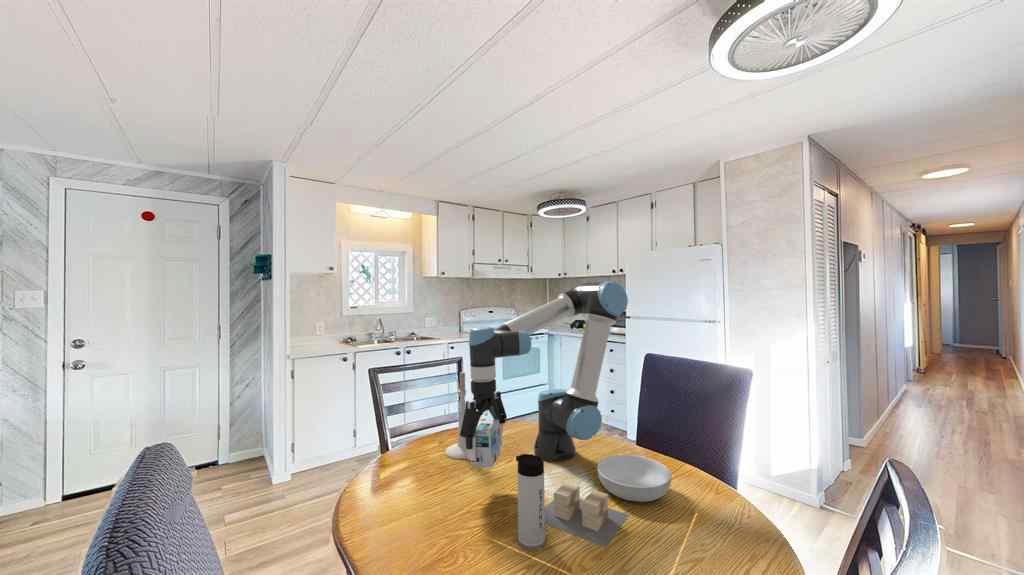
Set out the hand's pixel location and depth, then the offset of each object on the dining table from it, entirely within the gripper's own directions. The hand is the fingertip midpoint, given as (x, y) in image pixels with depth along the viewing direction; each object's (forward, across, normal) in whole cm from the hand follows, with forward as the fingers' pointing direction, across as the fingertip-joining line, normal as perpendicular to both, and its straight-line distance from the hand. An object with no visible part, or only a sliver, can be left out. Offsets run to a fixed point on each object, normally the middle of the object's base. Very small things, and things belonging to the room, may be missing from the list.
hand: (485, 451), depth 116 cm
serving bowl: (+13, -23, +37) cm, 45 cm away
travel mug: (+12, +14, +24) cm, 30 cm away
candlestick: (+12, -17, -25) cm, 33 cm away
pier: (+12, -2, +34) cm, 36 cm away
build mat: (+12, -2, +30) cm, 32 cm away
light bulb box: (+3, 0, 0) cm, 3 cm away
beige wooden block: (+11, -2, +26) cm, 28 cm away
